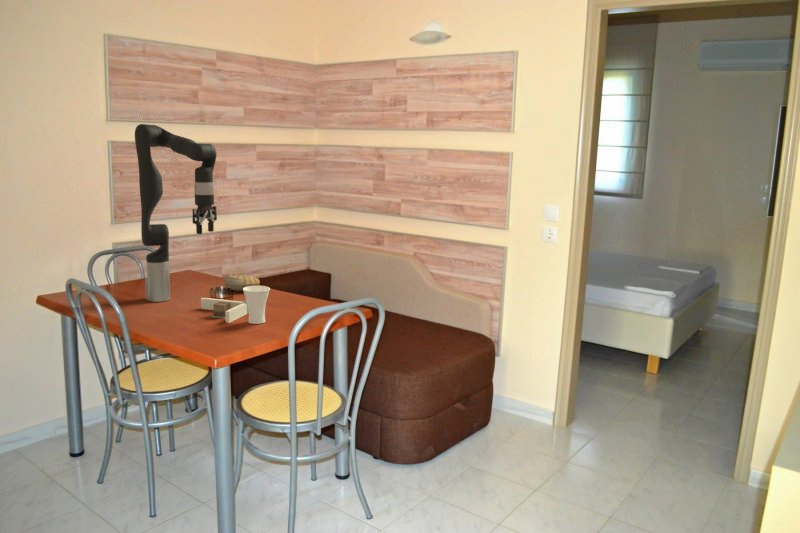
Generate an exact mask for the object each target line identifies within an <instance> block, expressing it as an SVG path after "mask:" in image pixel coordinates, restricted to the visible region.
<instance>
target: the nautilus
mask: <svg viewBox="0 0 800 533" xmlns="http://www.w3.org/2000/svg"><path fill="white" fill-rule="evenodd" d="M224 276H225V277H224ZM224 276H222V278H223V279H224V287H226V286H227V287H230V288H231V289H230V290H234V291H235V292H244V291H243V288H244V287H248V286H260V283H261V281H260V279H259V278H257V277H255V276H252V275H249V274H245V275H244V274H238V273H233V274H228V273H227V274H224Z"/></svg>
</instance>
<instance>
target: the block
mask: <svg viewBox="0 0 800 533" xmlns="http://www.w3.org/2000/svg"><path fill="white" fill-rule="evenodd" d="M213 307H214V310H213V315H214V316H216V317H225V311H227V310H229V309H231V302H222V301H220V302H217V303H215V304H213Z"/></svg>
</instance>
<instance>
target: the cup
mask: <svg viewBox="0 0 800 533" xmlns="http://www.w3.org/2000/svg"><path fill="white" fill-rule="evenodd" d="M270 290H271V288H270V287H269V286H267V285H266V286H265V285H259V286H248V287H244V288H243V291H242V292H243V294H244V297H245V300H246V301H247V304H248V310H249V314H248V323H249V324H254V325H259V324H263V323H266V306H267V305H266V304H267V300H268V297H269V293H270Z"/></svg>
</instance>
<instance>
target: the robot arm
mask: <svg viewBox="0 0 800 533" xmlns="http://www.w3.org/2000/svg"><path fill="white" fill-rule="evenodd" d="M134 144H135V149H136V156H137V165H138V176H139V177H138V178H139V179H138V180H139V182H138V184H139V196H140V208H141V215H140V216H141V219H140V220H141V224H140V225H141V229H140V232H141V233H140V234H141V236H140V237H141V240H142V241H141V242H142V244H143V246H145V247H155V246H159V248H158V249H156V250H155V251H152V252H150V253H147V254H146V257H145V260H146V261H145V262H146V278H145V279H144V283H145V284H144V286H145V300H146V301H149V302H154V303H156V302H157V303H158V302H159V303H160V302H166V301H169V300H171V281H170V253H169V252H170V250H169V245H170V244H169V242H170V233H169V232H170V231H169V228H168V225H167V224H165V223H156V224H155V223H153V224H152V223H151V217H152V215H153V212H154V210H155V208H156V207H157V205H158V204H159V202H160V200H161V199H162V197H163V193H164V189H163V188H164V187H163V178H162V175H161V172H160V171H159V168H158V167H157V166H156V163H155V162H154V160H153V158H152V152H151V147H152V148H155V147H156V148H157V147H160V148H161V147H162V148H169V149H170V150H172V151H173V152H174V153H176V154H179V155H182V156H185V157H187V158H189V159H190V160H193V161H194V162H202V163H201V164H200V165H201V166H199V167H196V168H195V169H194V205H196V206H197V208H193V209H192V224H195V229H196V235H203V222H204V221H205V220H207V222H208V223H207V231H208V232H211V233H212V232H214V231H215V230H214V224H215V221H217V220H218V217H217V215H218V214H217V206H214V204H215V190H214V188H215V187H214V177H213V176H214V174H213V173H214V168H215V165H216V160H217V150H216V147H215V146H214V145H213V144H212V143H198V142H197V143H196V141H195V140H192V139H191V138H187V137H184V136H181V135H178V134H174V133H172V132H170V131H168V130H166V129H165V128H162V127H161V126H160V125H159V126H158V125H155V124H144V123H140V124H138V125H137V126H136V127H135V131H134Z"/></svg>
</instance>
